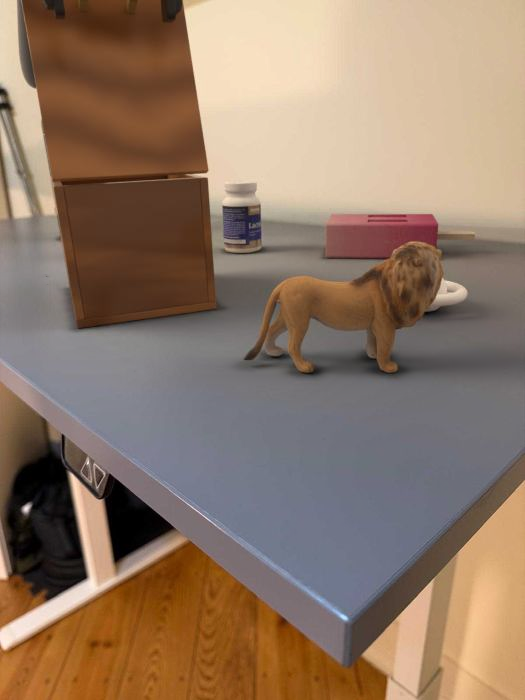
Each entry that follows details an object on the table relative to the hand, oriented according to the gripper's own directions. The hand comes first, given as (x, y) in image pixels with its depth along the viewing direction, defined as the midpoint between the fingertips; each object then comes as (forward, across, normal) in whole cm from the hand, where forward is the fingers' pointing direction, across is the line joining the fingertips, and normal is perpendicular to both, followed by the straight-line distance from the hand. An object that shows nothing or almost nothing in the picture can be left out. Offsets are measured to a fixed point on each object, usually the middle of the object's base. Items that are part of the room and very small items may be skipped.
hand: (116, 19), depth 43 cm
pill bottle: (+25, -19, -27) cm, 42 cm away
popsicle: (+26, -38, -14) cm, 48 cm away
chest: (+25, 0, -8) cm, 26 cm away
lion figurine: (+25, -12, +17) cm, 33 cm away
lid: (+4, 0, -3) cm, 5 cm away
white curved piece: (+25, -25, +9) cm, 37 cm away
